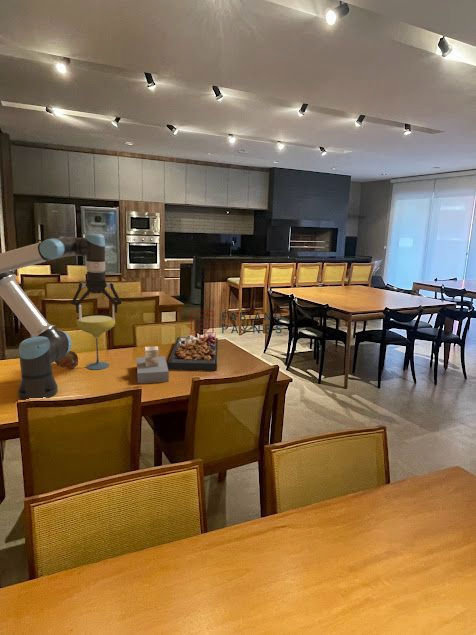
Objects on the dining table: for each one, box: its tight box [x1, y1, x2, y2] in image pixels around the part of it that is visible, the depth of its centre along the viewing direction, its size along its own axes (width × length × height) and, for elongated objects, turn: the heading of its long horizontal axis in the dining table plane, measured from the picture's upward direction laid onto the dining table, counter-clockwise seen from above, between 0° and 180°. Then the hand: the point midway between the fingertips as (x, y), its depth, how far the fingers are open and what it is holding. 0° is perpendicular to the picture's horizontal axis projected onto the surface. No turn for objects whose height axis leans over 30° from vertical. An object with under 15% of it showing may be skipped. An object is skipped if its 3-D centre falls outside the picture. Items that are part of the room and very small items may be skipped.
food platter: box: [167, 332, 219, 372], centre depth 230 cm, size 45×25×10 cm, turn 2°
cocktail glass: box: [75, 313, 116, 371], centre depth 207 cm, size 18×18×25 cm
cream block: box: [144, 346, 159, 367], centre depth 201 cm, size 6×6×8 cm
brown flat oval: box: [54, 350, 79, 370], centre depth 208 cm, size 15×3×8 cm, turn 62°
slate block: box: [136, 355, 170, 384], centre depth 202 cm, size 14×22×5 cm, turn 14°
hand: (97, 320), depth 180 cm, fingers open, 13 cm apart
